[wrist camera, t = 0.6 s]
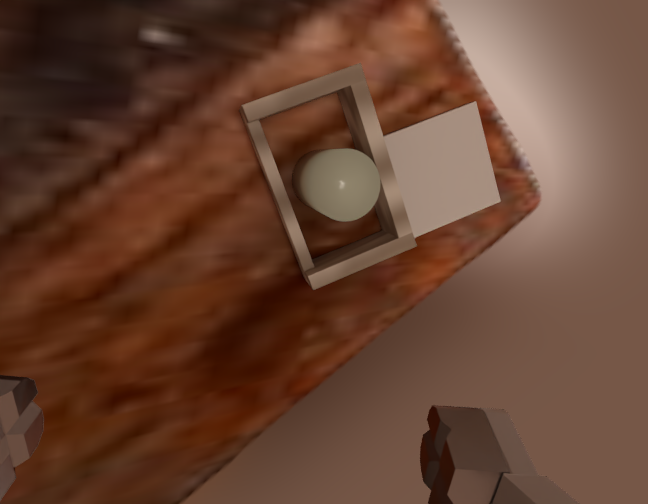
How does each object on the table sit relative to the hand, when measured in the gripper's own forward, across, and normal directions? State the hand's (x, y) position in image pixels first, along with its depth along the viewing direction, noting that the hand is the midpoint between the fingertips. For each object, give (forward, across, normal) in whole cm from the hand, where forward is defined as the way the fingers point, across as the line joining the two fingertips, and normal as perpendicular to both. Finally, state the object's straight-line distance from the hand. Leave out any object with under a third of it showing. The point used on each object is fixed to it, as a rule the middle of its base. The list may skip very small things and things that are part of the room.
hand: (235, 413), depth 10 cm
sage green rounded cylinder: (+42, -2, +7) cm, 42 cm away
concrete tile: (+45, -16, +6) cm, 48 cm away
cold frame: (+42, -3, +7) cm, 42 cm away
